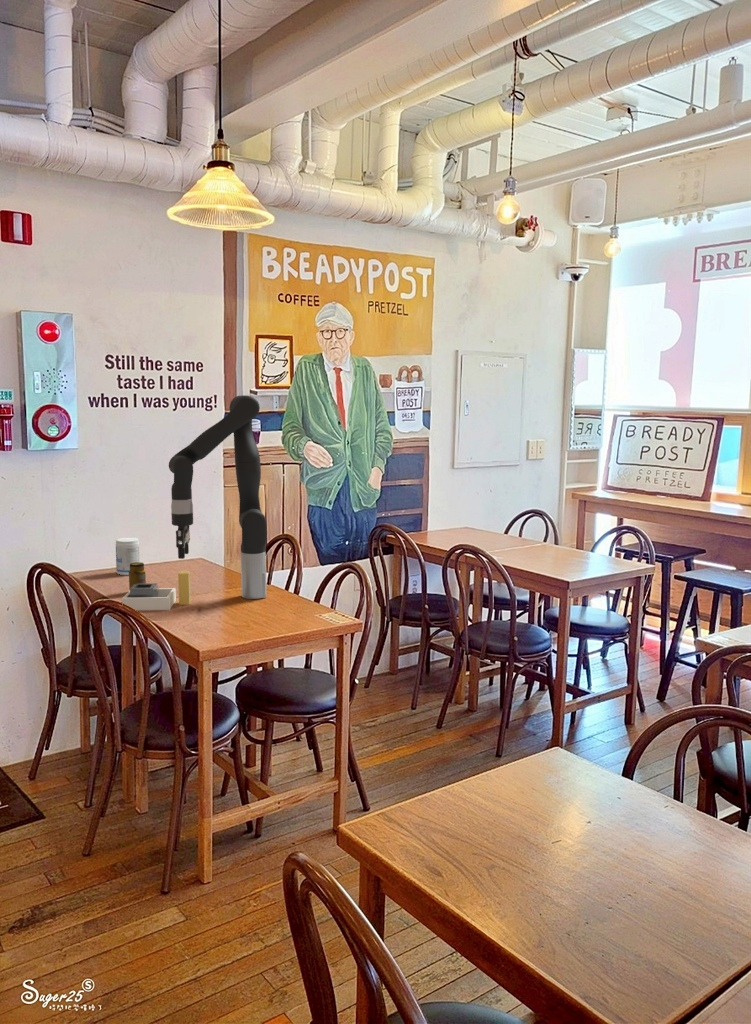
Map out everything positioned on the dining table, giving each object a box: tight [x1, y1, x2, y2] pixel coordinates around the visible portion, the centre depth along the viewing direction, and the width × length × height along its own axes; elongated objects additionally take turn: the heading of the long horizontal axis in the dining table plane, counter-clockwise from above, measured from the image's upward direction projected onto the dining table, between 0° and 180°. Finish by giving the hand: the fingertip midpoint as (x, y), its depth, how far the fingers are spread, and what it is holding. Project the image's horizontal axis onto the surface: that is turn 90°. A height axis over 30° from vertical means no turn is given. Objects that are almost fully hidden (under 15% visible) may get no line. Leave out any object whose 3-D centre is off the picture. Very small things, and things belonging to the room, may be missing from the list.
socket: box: [130, 582, 158, 597], centre depth 291 cm, size 8×8×7 cm
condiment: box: [128, 561, 147, 592], centre depth 308 cm, size 7×8×12 cm
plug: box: [177, 570, 192, 606], centre depth 293 cm, size 4×4×12 cm
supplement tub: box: [115, 537, 141, 576], centre depth 343 cm, size 10×10×15 cm
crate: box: [122, 587, 177, 611], centre depth 291 cm, size 16×14×5 cm
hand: (183, 556), depth 292 cm, fingers open, 8 cm apart
